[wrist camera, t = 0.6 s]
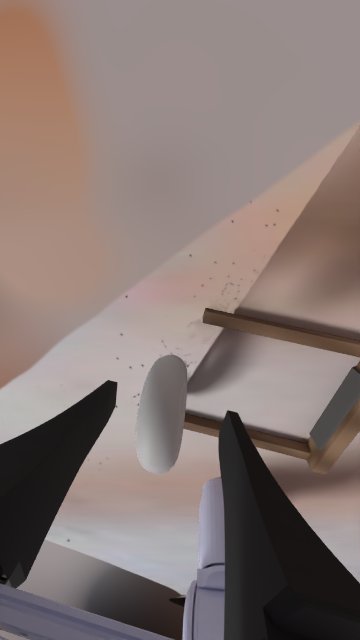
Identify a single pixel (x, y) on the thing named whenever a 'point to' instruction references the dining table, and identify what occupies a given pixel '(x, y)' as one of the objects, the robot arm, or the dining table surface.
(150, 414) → the donut
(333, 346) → the guide track
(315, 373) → the dining table surface
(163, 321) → the dining table surface
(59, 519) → the dining table surface
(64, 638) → the robot arm
